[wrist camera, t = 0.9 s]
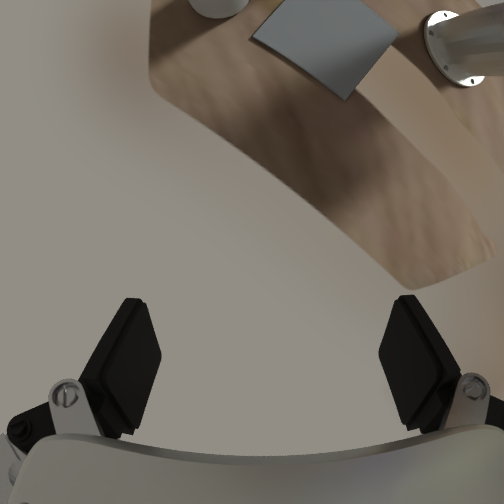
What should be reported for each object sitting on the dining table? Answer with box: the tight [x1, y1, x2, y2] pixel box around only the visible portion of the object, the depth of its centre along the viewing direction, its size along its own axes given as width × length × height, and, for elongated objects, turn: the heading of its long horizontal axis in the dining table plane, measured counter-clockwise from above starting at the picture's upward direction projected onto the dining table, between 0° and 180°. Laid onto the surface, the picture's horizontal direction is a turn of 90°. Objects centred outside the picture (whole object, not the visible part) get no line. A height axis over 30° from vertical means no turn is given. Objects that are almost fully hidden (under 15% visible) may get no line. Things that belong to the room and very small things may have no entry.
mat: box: [253, 0, 400, 101], centre depth 27 cm, size 14×14×1 cm
